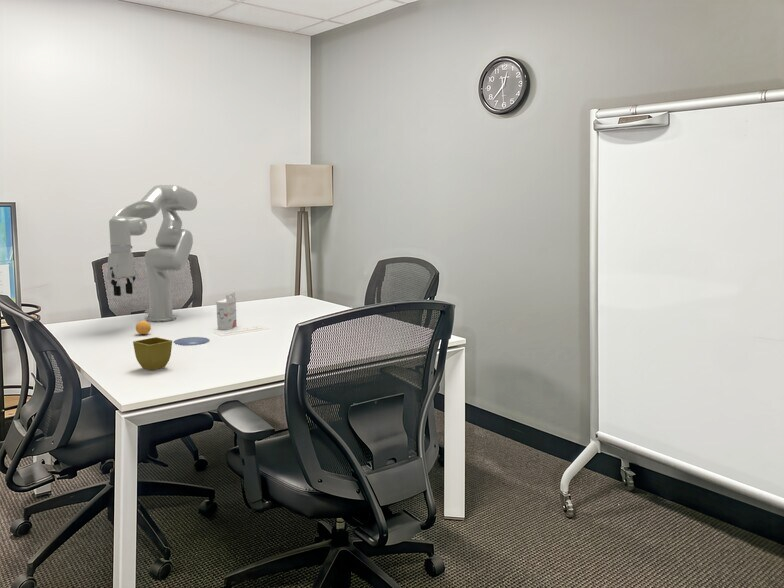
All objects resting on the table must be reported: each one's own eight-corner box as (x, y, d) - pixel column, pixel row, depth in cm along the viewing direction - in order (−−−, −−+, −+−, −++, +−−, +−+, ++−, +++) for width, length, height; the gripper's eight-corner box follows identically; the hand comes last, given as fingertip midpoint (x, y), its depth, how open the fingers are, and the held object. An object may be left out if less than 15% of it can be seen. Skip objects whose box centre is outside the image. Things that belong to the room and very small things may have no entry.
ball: (133, 335, 250) (132, 321, 249) (144, 332, 255) (143, 319, 254) (143, 336, 248) (142, 322, 247) (154, 333, 253) (153, 320, 252)
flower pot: (157, 363, 210) (156, 336, 208) (174, 367, 205) (172, 340, 203) (133, 368, 203) (132, 341, 201) (150, 373, 198) (148, 345, 196)
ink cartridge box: (226, 325, 271) (225, 291, 268) (236, 326, 270) (236, 291, 268) (216, 329, 262) (215, 294, 260) (227, 330, 262) (226, 294, 259)
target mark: (166, 342, 238) (166, 342, 238) (190, 336, 249) (190, 335, 249) (192, 346, 232) (192, 346, 232) (216, 339, 244) (216, 339, 244)
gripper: (131, 247, 260) (133, 291, 263) (96, 250, 245) (98, 296, 248) (144, 248, 257) (147, 292, 259) (109, 251, 241) (112, 298, 244)
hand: (123, 294), depth 253 cm, fingers open, 5 cm apart
